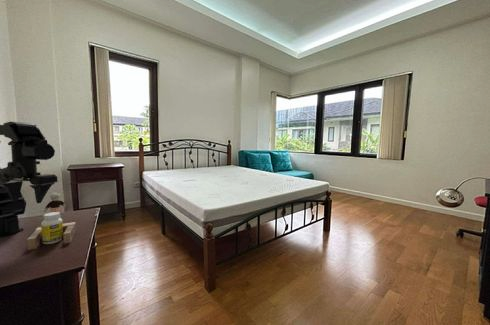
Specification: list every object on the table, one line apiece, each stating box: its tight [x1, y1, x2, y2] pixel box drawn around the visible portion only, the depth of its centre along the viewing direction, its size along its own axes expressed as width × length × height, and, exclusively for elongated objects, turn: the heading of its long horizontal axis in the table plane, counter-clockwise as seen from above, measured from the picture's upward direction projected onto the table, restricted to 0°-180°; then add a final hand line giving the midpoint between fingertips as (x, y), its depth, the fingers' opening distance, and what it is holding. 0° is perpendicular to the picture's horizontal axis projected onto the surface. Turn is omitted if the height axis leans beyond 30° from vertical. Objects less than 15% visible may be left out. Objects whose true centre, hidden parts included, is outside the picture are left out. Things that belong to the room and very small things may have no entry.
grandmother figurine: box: [43, 192, 66, 219], centre depth 87 cm, size 8×4×13 cm, turn 172°
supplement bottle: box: [40, 212, 64, 245], centre depth 70 cm, size 5×5×10 cm
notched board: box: [26, 221, 77, 251], centre depth 72 cm, size 10×10×4 cm
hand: (27, 202), depth 71 cm, fingers open, 9 cm apart
